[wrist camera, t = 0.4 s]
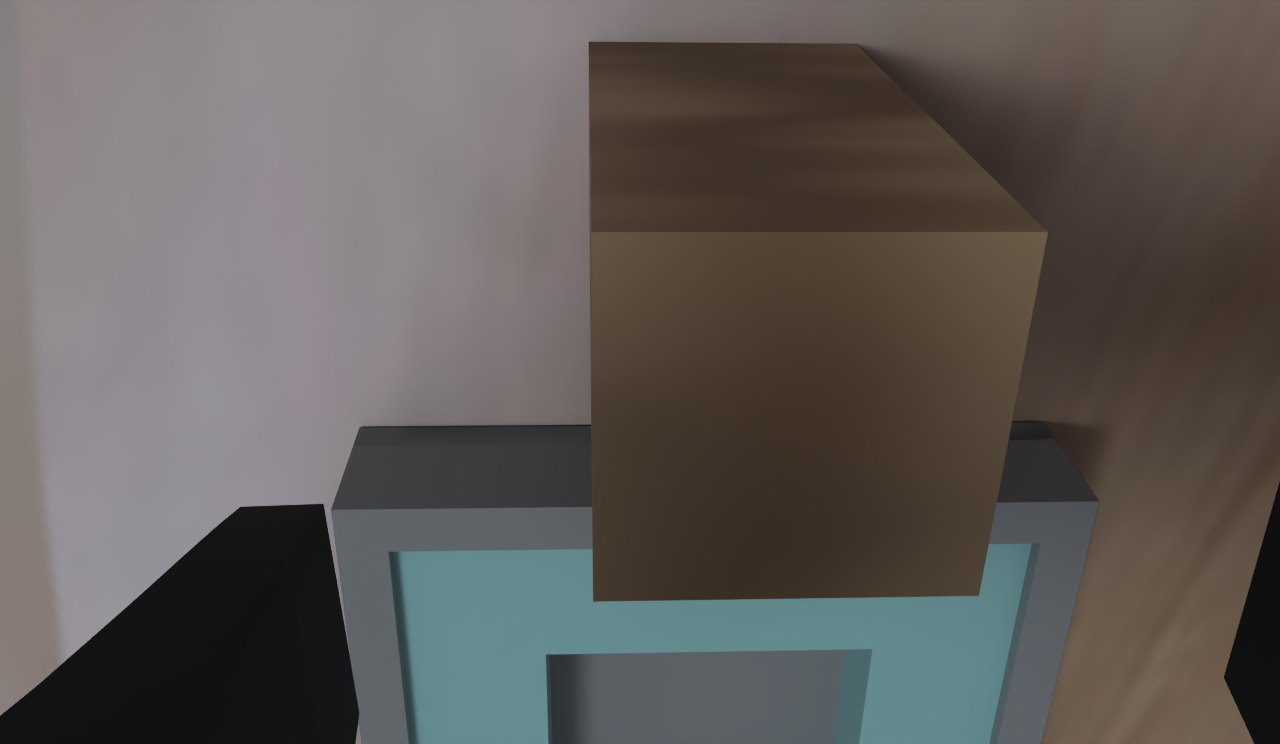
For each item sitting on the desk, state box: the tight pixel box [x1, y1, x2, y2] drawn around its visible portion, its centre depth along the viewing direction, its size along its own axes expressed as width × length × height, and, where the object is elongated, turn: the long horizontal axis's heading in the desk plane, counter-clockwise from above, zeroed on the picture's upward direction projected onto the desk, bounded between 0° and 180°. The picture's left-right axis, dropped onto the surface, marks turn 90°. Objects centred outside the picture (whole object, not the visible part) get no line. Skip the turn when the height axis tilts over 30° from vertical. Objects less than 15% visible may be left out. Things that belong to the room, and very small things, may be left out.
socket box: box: [331, 422, 1099, 744], centre depth 22 cm, size 12×12×2 cm
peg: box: [589, 42, 1048, 602], centre depth 14 cm, size 4×4×8 cm
